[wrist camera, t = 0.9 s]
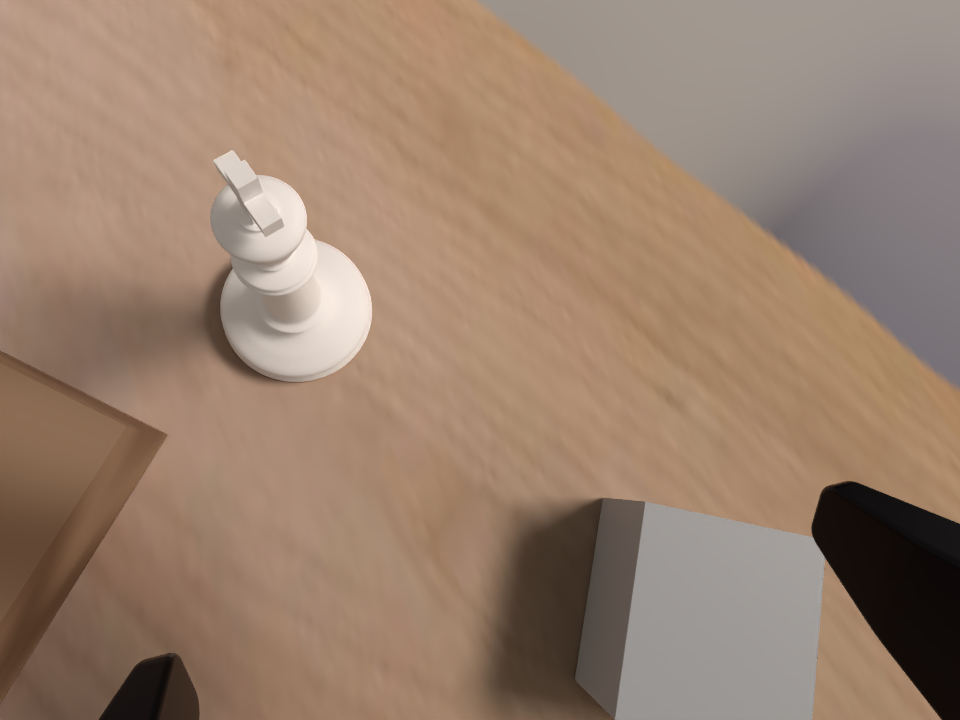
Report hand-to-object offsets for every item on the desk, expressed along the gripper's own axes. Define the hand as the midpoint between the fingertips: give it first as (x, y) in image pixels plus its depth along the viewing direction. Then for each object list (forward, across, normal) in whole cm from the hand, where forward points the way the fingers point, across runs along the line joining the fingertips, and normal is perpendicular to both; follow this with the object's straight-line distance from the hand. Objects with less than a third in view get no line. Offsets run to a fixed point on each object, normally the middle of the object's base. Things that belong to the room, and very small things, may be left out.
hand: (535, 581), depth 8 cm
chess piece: (+15, +3, +2) cm, 16 cm away
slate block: (+7, -7, +12) cm, 15 cm away
